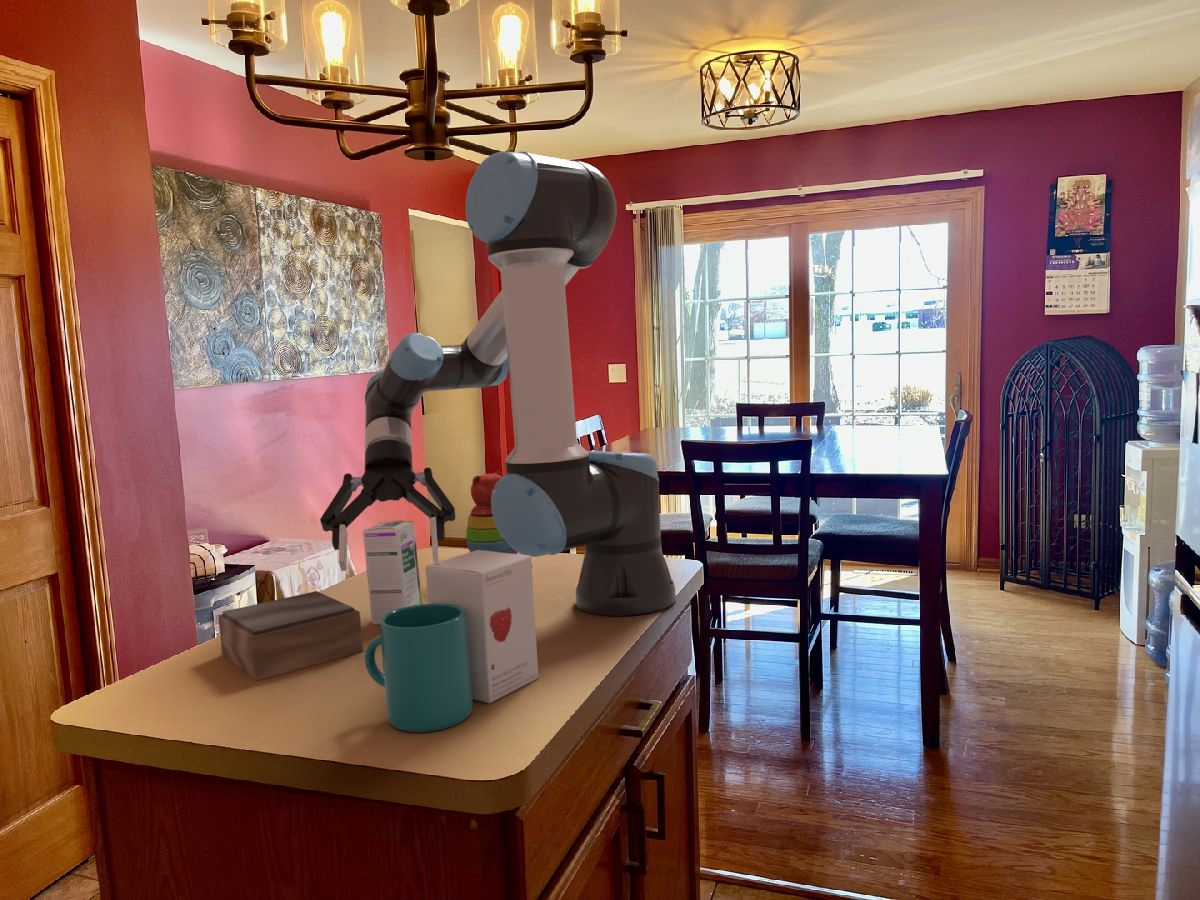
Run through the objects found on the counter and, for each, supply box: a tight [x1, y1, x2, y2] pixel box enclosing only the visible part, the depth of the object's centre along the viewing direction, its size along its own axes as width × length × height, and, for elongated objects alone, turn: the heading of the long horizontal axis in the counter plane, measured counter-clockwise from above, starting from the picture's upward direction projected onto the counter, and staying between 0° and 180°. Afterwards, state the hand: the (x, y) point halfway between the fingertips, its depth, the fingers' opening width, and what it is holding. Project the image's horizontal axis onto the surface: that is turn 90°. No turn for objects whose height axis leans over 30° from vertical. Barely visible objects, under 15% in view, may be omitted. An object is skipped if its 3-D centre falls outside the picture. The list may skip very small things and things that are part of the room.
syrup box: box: [362, 520, 423, 626], centre depth 130 cm, size 6×6×14 cm
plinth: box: [217, 591, 364, 681], centre depth 117 cm, size 14×14×6 cm
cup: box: [364, 603, 474, 733], centre depth 94 cm, size 9×12×11 cm
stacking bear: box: [465, 471, 519, 554], centre depth 156 cm, size 11×10×18 cm
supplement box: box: [425, 550, 539, 704], centre depth 101 cm, size 9×9×15 cm
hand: (389, 561), depth 131 cm, fingers open, 13 cm apart
